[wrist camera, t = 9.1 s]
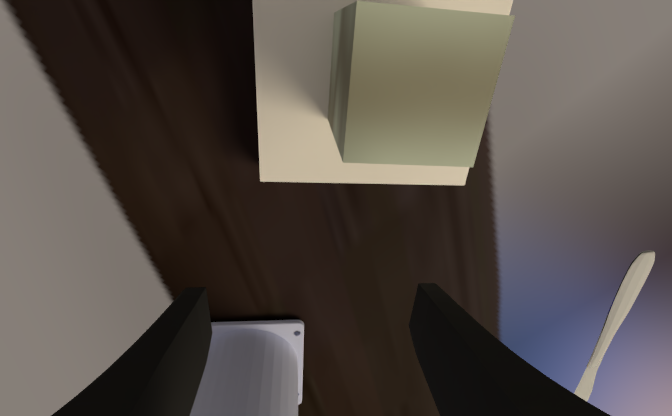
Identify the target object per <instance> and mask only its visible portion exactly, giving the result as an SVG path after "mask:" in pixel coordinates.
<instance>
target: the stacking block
mask: <svg viewBox="0 0 672 416" xmlns="http://www.w3.org/2000/svg"><path fill="white" fill-rule="evenodd" d="M514 18H515V16H510V15H500V14H490V13H479V12H469V11H458V10H448V9H438V8H427V7H417V6H406V5H396V4H386V3H375V2H365V1H355V2H354V3H352V4H350V5H348V6H346V7H344V8H342V9H340V10H338V11H337V12H335V13H334V24H333V40H332V56H331V73H330V89H329V105H328V122H329V125H330V127H331V130H332V133H333V136H334V139H335V142H336V145H337V147H338V150H339V153H340V156H341V159H342V162H343V163H366V164H395V165H424V166H453V167H473V166H474V162H475V158H476V155H477V151H478V148H479V144H480V140H481V137H482V133H483V130H484V126H485V122H486V119H487V115H488V111H489V108H490V104H491V101H492V97H493V93H494V90H495V86H496V83H497V79H498V75H499V72H500V68H501V65H502V61H503V57H504V54H505V50H506V46H507V43H508V39H509V35H510V32H511V28H512V25H513V21H514Z"/></svg>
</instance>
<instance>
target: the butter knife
mask: <svg viewBox="0 0 672 416" xmlns="http://www.w3.org/2000/svg"><path fill="white" fill-rule="evenodd" d="M654 259H655V253H654V251H644V252H641V253H640V254H638V256H637V257H636V258H635V259H634V260H633V261H632V263H631V264H630V266H629V268H628V270H627V272H626V274H625V276H624V278H623V280H622V282H621V284H620V286H619V288H618V291H617V293H616V295H615V297H614V299H613V302H612V304H611V306H610V309H609V311H608V315H607V317H606V320H605V323H604V325H603V328H602V331H601V333H600V336H599V338H598V341H597V343H596V345H595V348H594V350H593V353H592V355H591V357H590V360H589V362H588V364H587V368H586V370H585V372H584V374H583V376H582V378H581V380H580V382H579V384H578V386H577V388H576V390H575V393H574V394H575V395H577V396H578V397H580V398H581V399H583V400H585V401H586V402H587V401H588V399H589V396H590V394H591V392H592V389H593V385H594V381H595V377H596V373H597V370H598V367H599V366H600V363H601V361H602V359H603V356H604V354H605V352H606V350H607V348H608V346H609V344H610V342H611V340H612V338H613V336H614V334H615V333H616V331H617V329H618V328H619V326H620V325H621V323H622V322H623V320H624V319H625V317H626V315H627V314H628V312H629V310H630V309H631V307H632V305H633V303H634V301H635V299H636V297H637V295H638V294H639V292H640V290H641V288H642V286H643V284H644V282H645V280H646V278H647V276H648V274H649V272H650V270H651V268H652V266H653V263H654Z"/></svg>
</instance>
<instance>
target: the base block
mask: <svg viewBox="0 0 672 416" xmlns="http://www.w3.org/2000/svg"><path fill="white" fill-rule="evenodd" d="M355 1H365V2H375V3H386V4H396V5H406V6H417V7H427V8H438V9H448V10H458V11H469V12H479V13H490V14H500V15H509V14H510V10H511V7H512V3H513V0H252V3H253V27H254V50H255V73H256V97H257V120H258V143H259V166H260V181H263V182H316V183H368V184H421V185H465V182H466V178H467V174H468V170H469V167H453V166H424V165H395V164H366V163H343V162H342V159H341V156H340V153H339V150H338V147H337V145H336V142H335V139H334V136H333V133H332V130H331V127H330V125H329V122H328V105H329V89H330V73H331V56H332V40H333V24H334V13H335V12H337V11H338V10H340V9H342V8H344V7H346V6H348V5H350V4H352V3H354V2H355Z"/></svg>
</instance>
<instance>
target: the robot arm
mask: <svg viewBox="0 0 672 416" xmlns="http://www.w3.org/2000/svg"><path fill="white" fill-rule="evenodd" d="M409 328H410V332H411V336H412V341H413V344H414V348H415V352H416V355H417V358H418V360H419V363H420V365H421V368H422V370H423V373H424V376H425V378H426V381H427V383H428V386H429V388H430V391H431V393H432V396H433V398H434V401H435V403H436V406H437V408H438V411H439V413H440V416H610V415H609V414H607V413H605V412H603V411H601V410H600V409H598V408H596V407H595V406H593V405H591V404H590V403H588V402H586V401H585V400H583V399H581V398H580V397H578V396H577V395H575V394H573V393H572V392H570V391H569V390H567V389H565V388H564V387H562V386H561V385H559V384H558V383H556V382H555V381H553V380H552V379H550V378H549V377H547V376H546V375H544V374H543V373H541V372H540V371H539V370H537V369H536V368H534V367H533V366H531V365H530V364H529V363H527V362H526V361H525V360H523V359H522V358H520V357H519V356H518V355H516V354H515V353H514V352H513V351H511V350H510V349H509V348H508V347H506V346H505V345H504V344H503V343H502V342H500V341H499V340H498V339H497V338H495V337H494V336H493V335H492V334H491V333H489V332H488V331H487V330H486V329H485V328H484V327H483V326H481V325H480V324H479V323H478V322H477V321H476V320H475V319H473V318H472V317H471V316H470V315H469V314H468V313H467V312H466V311H465V310H464V309H463V308H461V307H460V306H459V305H458V304H457V303H456V302H455V301H454V300H453V299H452V298H451V297H450V296H449V295H448V294H447V293H445V292H444V291H443V290H442V289H441V288H440V287H439V286H438V285H437V284H435V283H420V284H418V288H417V293H416V297H415V301H414V306H413V310H412V314H411V319H410V323H409ZM295 331H298V332H295ZM303 347H304V323H303V322H302V321H301V320H270V321H237V322H211V319H210V312H209V306H208V299H207V292H206V287H201V288H186V289H184V290H183V291H182V293H181V294H180V295H179V296H178V297H177V298H176V299H175V300H174V301H173V303H172V304H171V305H170V306H169V307H168V308H167V309H166V310H165V311H164V313H163V314H162V315H161V316H160V317H159V318H158V319H157V320H156V321H155V322H154V323H153V324H152V325H151V327H150V328H149V329H148V330H147V331H146V332H145V333H144V334H143V335H142V336H141V337H140V338H139V339H138V340H137V341H136V342H135V343H134V344H133V345H132V346H131V347H130V348H129V349H128V350H127V351H126V352H125V353H124V354H123V355H122V356H121V357H120V358H119V359H118V360H116V361H115V362H114V363H113V364H112V365H111V366H110V367H109V368H108V369H107V370H106V371H105V372H104V373H102V374H101V375H100V376H99V377H98V378H97V379H96V380H94V381H93V382H92V383H91V384H90V385H89V386H88V387H86V388H85V389H84V390H83V391H82V392H80V393H79V394H78V395H77V396H76V397H74V398H73V399H72V400H71V401H69V402H68V403H67V404H66V405H64V406H63V407H62V408H61V409H60V410H58V411H57V412H55V413H54V414H53V415H52V416H298V405H299V404H300V403H301V402H302V382H303Z"/></svg>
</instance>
